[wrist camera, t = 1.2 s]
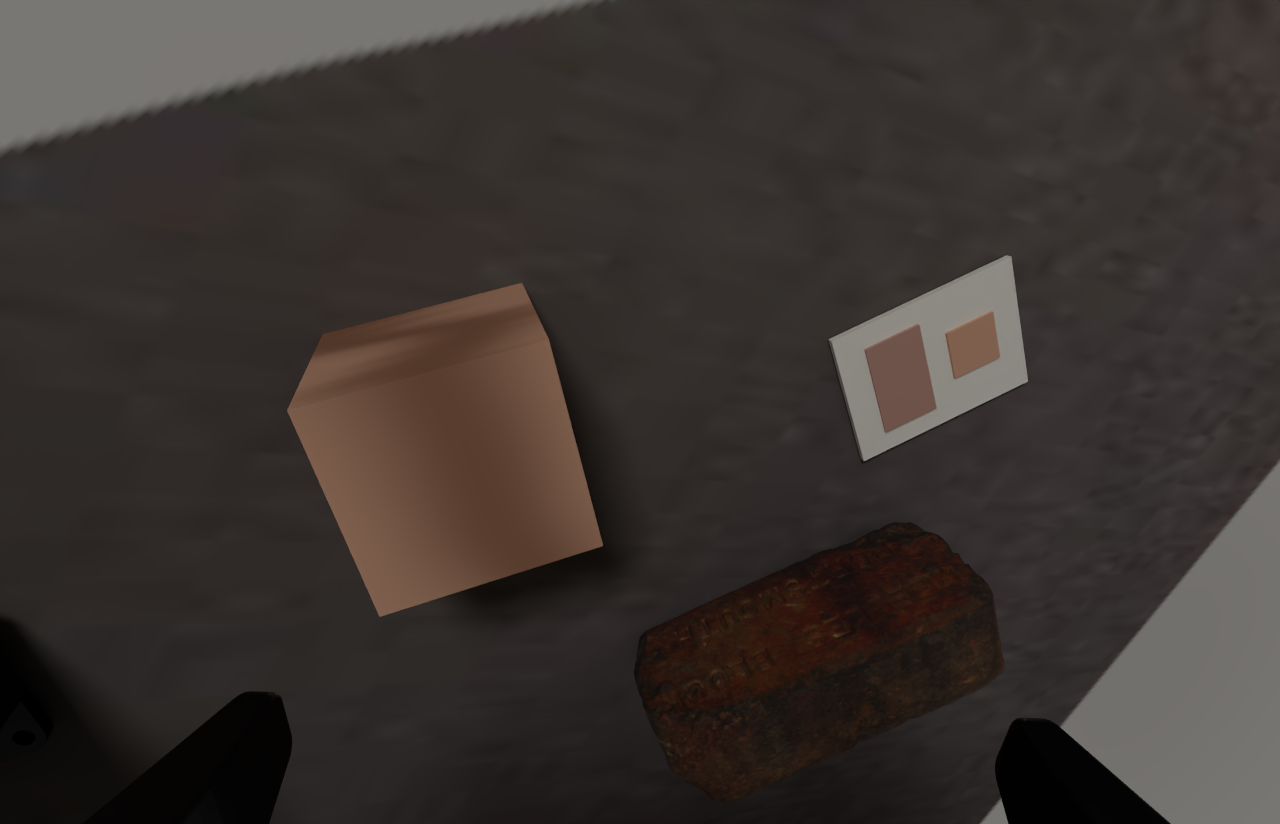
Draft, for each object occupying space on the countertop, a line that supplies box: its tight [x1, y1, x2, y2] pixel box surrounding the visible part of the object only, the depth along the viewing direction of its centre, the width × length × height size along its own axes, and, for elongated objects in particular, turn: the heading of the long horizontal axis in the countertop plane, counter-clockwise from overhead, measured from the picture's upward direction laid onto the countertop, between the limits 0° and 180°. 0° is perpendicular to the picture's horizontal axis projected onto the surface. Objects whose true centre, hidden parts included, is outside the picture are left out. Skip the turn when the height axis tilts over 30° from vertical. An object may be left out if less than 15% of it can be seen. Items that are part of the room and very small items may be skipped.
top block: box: [287, 283, 603, 617], centre depth 17 cm, size 5×5×5 cm
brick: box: [634, 522, 1005, 802], centre depth 23 cm, size 11×4×5 cm, turn 109°
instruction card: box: [828, 255, 1028, 461], centre depth 23 cm, size 6×4×1 cm
